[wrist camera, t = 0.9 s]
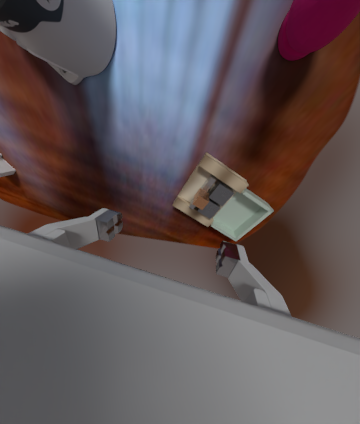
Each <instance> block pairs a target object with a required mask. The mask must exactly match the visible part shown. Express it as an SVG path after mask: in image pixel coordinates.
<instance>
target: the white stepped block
mask: <svg viewBox="0 0 360 424" xmlns="http://www.w3.org/2000/svg"><path fill="white" fill-rule="evenodd" d="M15 171H16V170H15V169H14V168H13V167H12V166H11V165H9V164H8V163H7V162H6V161H5V160H4V159H3V158H2V154H1V153H0V177H3V176H7V175H12V174H14V173H15Z"/></svg>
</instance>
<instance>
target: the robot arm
mask: <svg viewBox="0 0 360 424" xmlns="http://www.w3.org/2000/svg"><path fill="white" fill-rule="evenodd" d="M0 31H1V32H3V33H4V34H5V35H7V36H8V37H10V38H12V39H13V40H15V41H16V42H17V44H18V45H19V46H21V47H22V48H24V49H25V50H27V51H28V52H30V53H31V54H33V55H34V56H36V57H38V58H40V59H42V60H44V61H46V62H47V63H48V64H49V65H50V66H52V67H53V68H54V69H55V70H56V71H57V72H58V73H59V74H60V75H61V76H62V77H63V78H64V79H65V80H67V81H68V82H69V83H71V84H73V85H77V84H78V83H80V82H81V81H82V79H83V78H85V77H88V76H94V75H97V74H99V73H100V72H102V71H103V70H104V69H105V68H106V66H107V65H108V63H109V61H110V59H111V57H112V54H113V51H114V46H115V39H116V21H115V12H114V6H113V1H112V0H0ZM65 71H66V72H65ZM121 219H122V214H121V213H120V212H116V211H113V210H109V209H106V208H102V209H100V210H98V211H97V212H95V213H93V214H92V215H90V216H88V217H81V218H76V219H71V220H66V221H61V222H56V223H51V224H46V225H45V226H42V227H41V228H38V229H36V230H34V231H32V232H31V233H28V234H26V233H23V232H20V231H17V230H13V229H10V228H7V227H4V226H1V225H0V424H360V338H357V337H353V336H350V335H347V334H343V333H341V332H337V331H334V330H331V329H328V328H325V327H322V326H318V325H315V324H312V323H309V322H306V321H303V320H299V319H296V318H293V317H291V315H290V312H289V310H288V308H287V306H286V304H285V301H284V299H283V297H282V295H281V294H280V293H279V292H278V291H277V290H276V289H275V288H274V287H273V286H272V285H271V284H270V283H269V282H268V281H267V280H266V279H265V278H264V277H263V276H262V275H261V274H260V273H259V272H258V271H257V270H256V268H255V267H254V266H253V265H252V264H250V263H249V262H248V259H247V255H246V253H245V249H244V247H243V246H241V245H237V244H232V243H228V242H225V241H222V242H221V244H220V248H219V249H218V251H217V254H216V262H217V265H216V274H218V275H221V276H224V277H227V278H228V279H229V281H230V282H231V284H232V286H233V288H234V289H235V291H236V293H237V294H238V296H239V298H240V300H241V301H239V300H236V299H233V298H230V297H226V296H223V295H220V294H217V293H213V292H210V291H207V290H204V289H201V288H198V287H194V286H191V285H188V284H185V283H182V282H179V281H176V280H172V279H169V278H166V277H163V276H160V275H156V274H153V273H150V272H147V271H144V270H141V269H137V268H134V267H131V266H128V265H125V264H122V263H118V262H115V261H112V260H109V259H105V258H102V257H99V256H96V255H93V254H89V253H87V252H83V251H80V250H77V249H78V248H81V247H83V246H85V245H87V244H90V243H92V242H94V241H96V240H99V239H101V240H105V241H108V242H109V241H110V240H112V239H113V238H114V236H115V234H116V233H119V232H120V231H121V229H122V226H123V222H122V220H121Z"/></svg>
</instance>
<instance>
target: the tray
mask: <svg viewBox="0 0 360 424" xmlns="http://www.w3.org/2000/svg"><path fill="white" fill-rule="evenodd" d="M273 211H274V210H273V209H272V208H271V207H270V205H269V204H268V203H267V202H265V201H264V200H262V199H261V198H260V197H258V196H257V195H255V194H254V193H252V192H251V191H249V190H248V189H246V188H245V189H244V190H243V191H242V192H241V194H240V193H239V192H237V193H236V194H235V195H234V196H233V197H232V198H231V199H230V200H229V201H228V202H227V203H226V204H225V205H224V206H223V207H222V209H221V210H220V211H219V212H218V213H217V214H216V215H215V216H214V217H213V218H214V221H213V222H212V223H211V227H213V228H215V229H216V230H218V231H219V232H221V233H223V234H224V235H226V236H228V237H229V238H231V239H233V240H234V241H237V240H238V239H240V238H241V237H242V236H243V235H245V234H246V233H247V232H248V231H250V230H251V229H252V228H253V227H255V226H256V225H257V224H258V223H260V222H261V221H262V220H263V219H265V218H266V217H267V216H268V215H270V214H271V213H272V212H273Z"/></svg>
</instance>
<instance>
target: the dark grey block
mask: <svg viewBox="0 0 360 424" xmlns="http://www.w3.org/2000/svg"><path fill="white" fill-rule="evenodd" d="M233 194H234V192H233V189H232V188H231V187H229V186H228V185H226V184H225V183H223V182H222V181H220V180H218V181H217V183H216V184H215V185H214V186H213V188H212V189H211V190H210V191H209V198H210V199H212V200H213V201H215V202H216V203H218V204H219V205H221V206H223V205H224V204H225V203H226V202H227V201H228V200H229V199H230V198H231V197H232V196H233Z"/></svg>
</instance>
